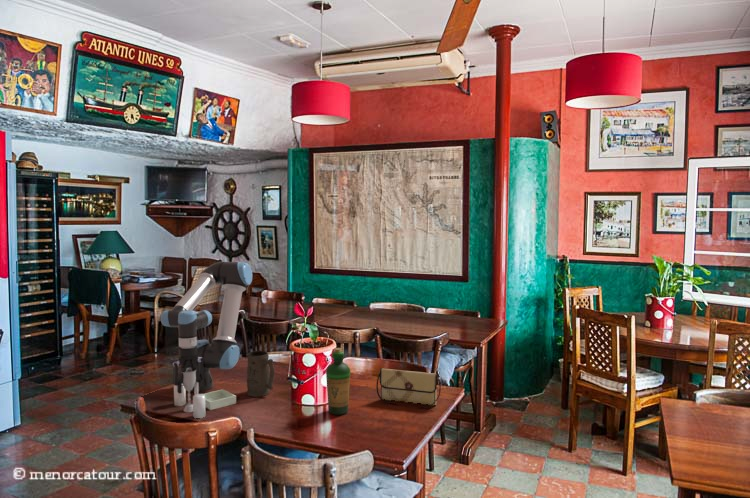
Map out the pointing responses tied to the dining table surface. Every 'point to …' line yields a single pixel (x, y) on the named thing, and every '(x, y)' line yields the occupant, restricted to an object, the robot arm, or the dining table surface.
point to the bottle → (338, 384)
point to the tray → (219, 399)
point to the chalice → (189, 386)
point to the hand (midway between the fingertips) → (189, 398)
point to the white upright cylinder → (177, 397)
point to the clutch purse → (408, 386)
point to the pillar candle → (199, 406)
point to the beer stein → (259, 374)
